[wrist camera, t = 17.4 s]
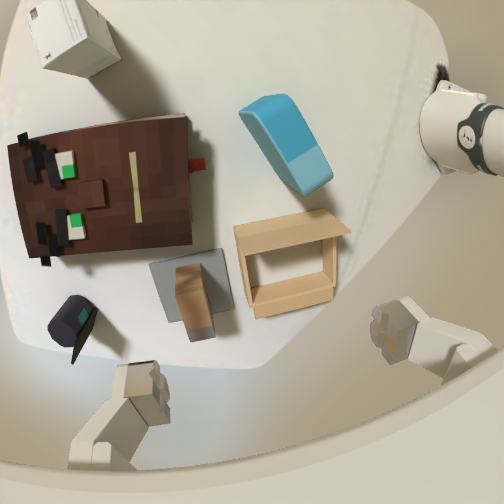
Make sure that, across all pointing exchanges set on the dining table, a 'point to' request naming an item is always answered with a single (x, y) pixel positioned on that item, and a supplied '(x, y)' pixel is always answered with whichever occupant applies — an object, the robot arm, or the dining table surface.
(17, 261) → the dining table surface
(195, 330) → the box
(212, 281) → the mat
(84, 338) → the speaker
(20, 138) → the decorative book
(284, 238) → the drawer
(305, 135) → the blue rounded block
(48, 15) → the skincare box
